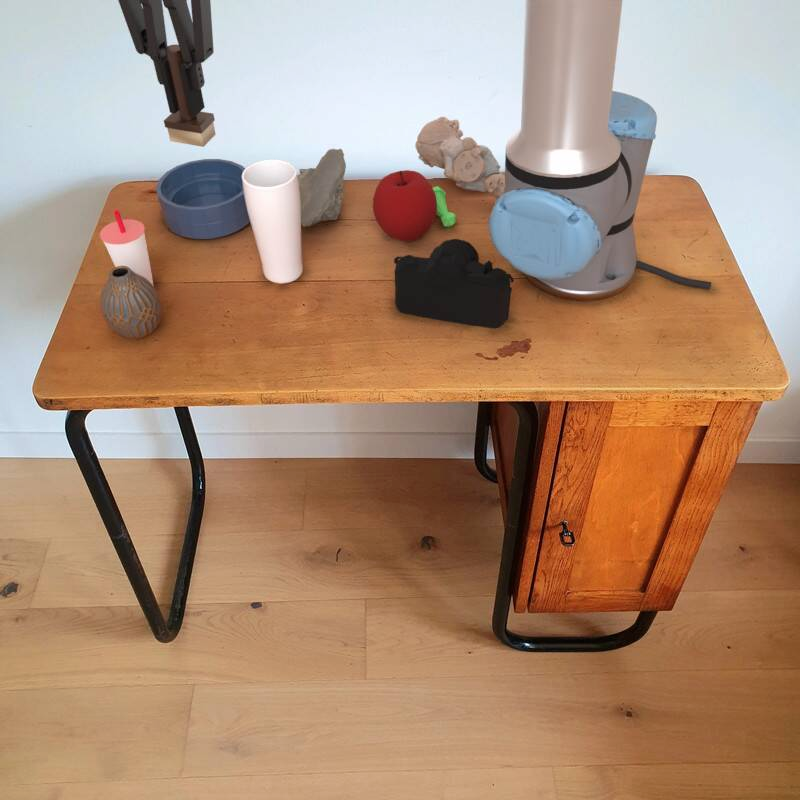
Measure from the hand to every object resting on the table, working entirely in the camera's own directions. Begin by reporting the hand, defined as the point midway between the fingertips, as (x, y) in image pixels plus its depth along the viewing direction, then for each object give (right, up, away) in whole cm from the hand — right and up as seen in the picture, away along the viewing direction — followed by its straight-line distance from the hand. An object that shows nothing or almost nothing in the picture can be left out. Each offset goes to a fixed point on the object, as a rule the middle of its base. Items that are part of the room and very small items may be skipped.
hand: (187, 109), depth 102 cm
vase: (-5, -29, -5) cm, 30 cm away
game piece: (+32, -9, +11) cm, 35 cm away
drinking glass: (+12, -21, +2) cm, 25 cm away
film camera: (+35, -25, -2) cm, 43 cm away
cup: (-6, -24, 0) cm, 24 cm away
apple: (+29, -14, +8) cm, 33 cm away
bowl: (0, -11, +12) cm, 16 cm away
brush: (0, -3, +3) cm, 4 cm away
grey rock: (+15, -11, +12) cm, 22 cm away
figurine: (+33, +3, +18) cm, 38 cm away
